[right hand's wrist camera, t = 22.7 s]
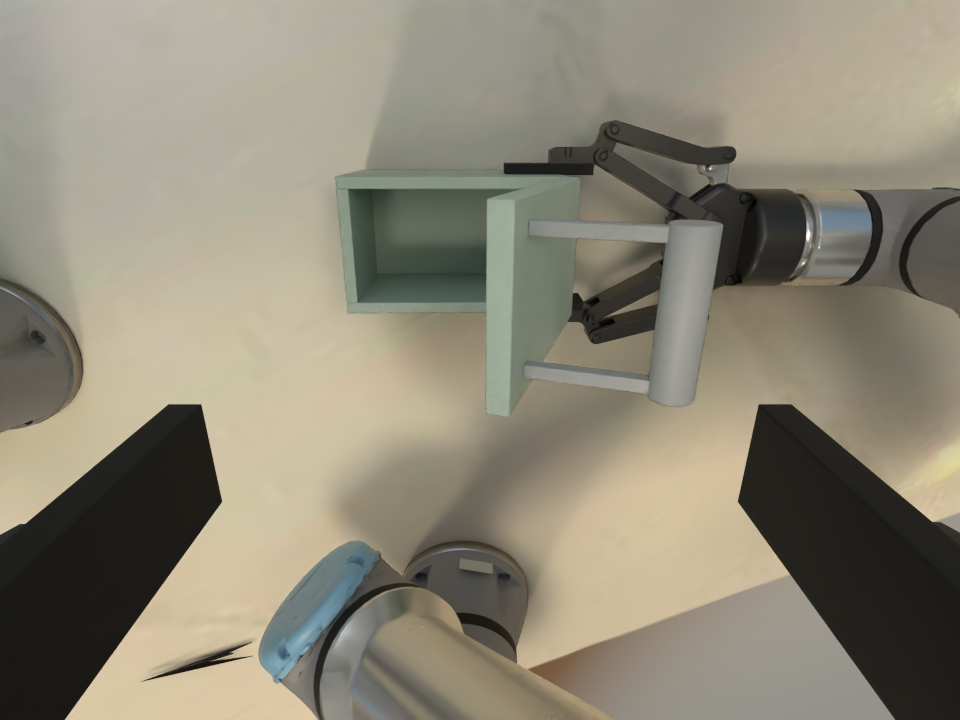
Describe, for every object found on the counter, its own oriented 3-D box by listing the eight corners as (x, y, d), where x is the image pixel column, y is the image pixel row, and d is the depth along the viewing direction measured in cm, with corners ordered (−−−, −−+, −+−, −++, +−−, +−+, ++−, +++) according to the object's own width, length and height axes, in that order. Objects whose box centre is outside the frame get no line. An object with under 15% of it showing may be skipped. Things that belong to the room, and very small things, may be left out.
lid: (484, 414, 25) (692, 446, 23) (485, 198, 22) (733, 206, 19) (555, 314, 40) (685, 326, 38) (563, 177, 37) (707, 179, 34)
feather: (81, 689, 73) (67, 696, 71) (259, 638, 68) (249, 644, 66) (84, 702, 72) (70, 710, 70) (262, 652, 68) (252, 659, 66)
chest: (370, 280, 50) (347, 313, 40) (362, 169, 47) (334, 176, 37) (542, 279, 51) (561, 312, 41) (547, 170, 47) (570, 176, 37)
